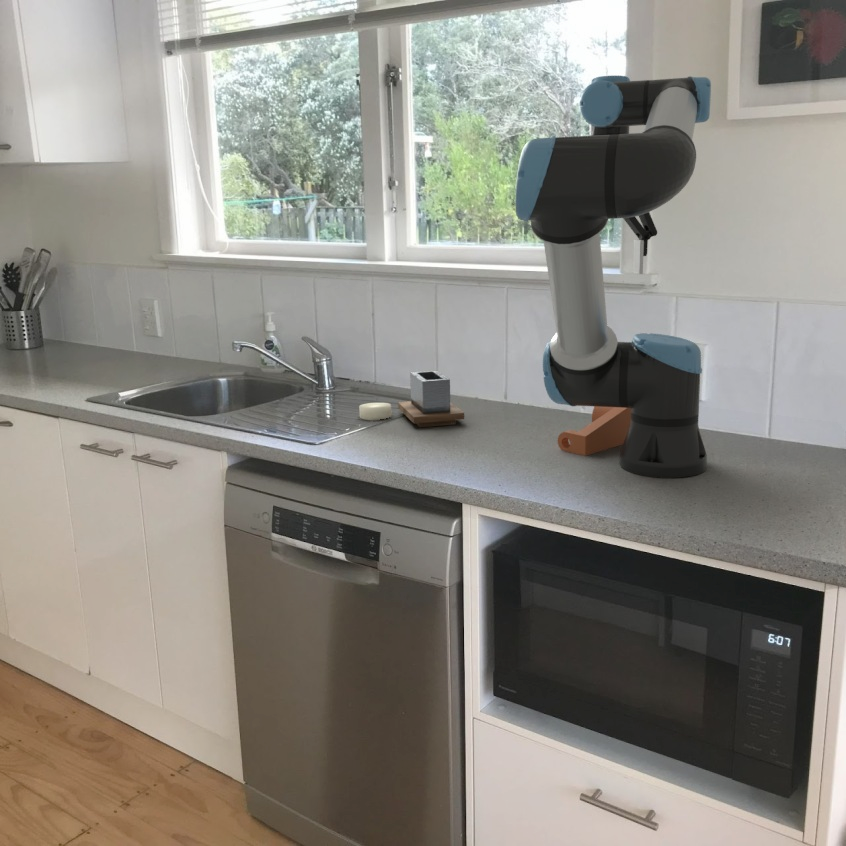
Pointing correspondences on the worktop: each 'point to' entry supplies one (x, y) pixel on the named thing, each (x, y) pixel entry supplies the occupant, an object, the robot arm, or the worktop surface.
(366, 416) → the cream round puck
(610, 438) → the crank
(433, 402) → the housing
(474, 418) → the worktop surface
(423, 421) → the stand
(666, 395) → the robot arm
